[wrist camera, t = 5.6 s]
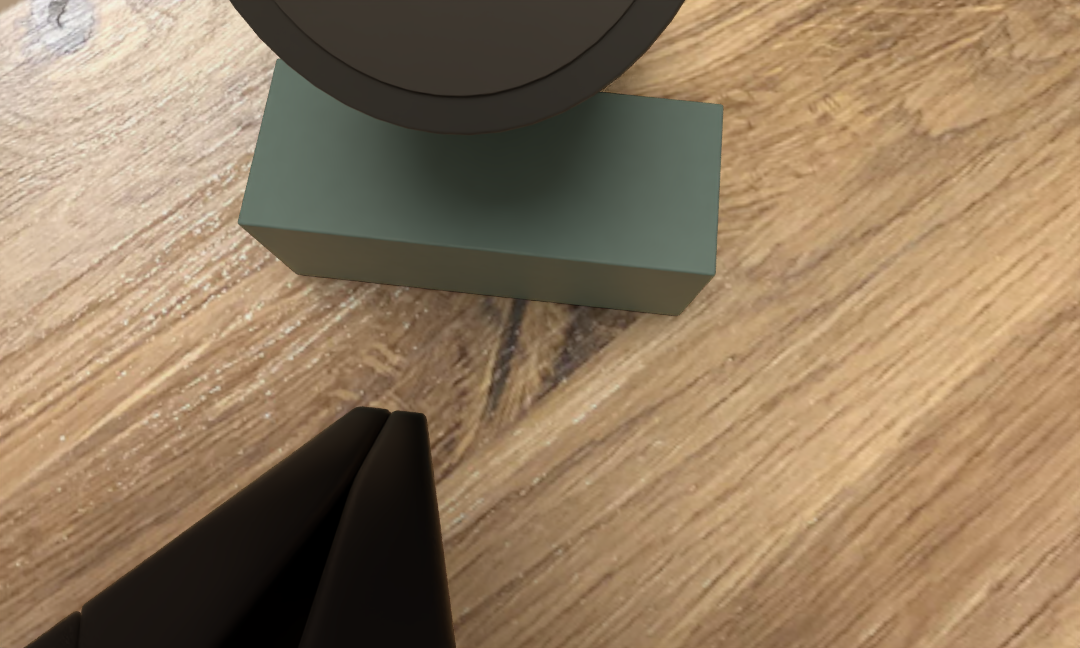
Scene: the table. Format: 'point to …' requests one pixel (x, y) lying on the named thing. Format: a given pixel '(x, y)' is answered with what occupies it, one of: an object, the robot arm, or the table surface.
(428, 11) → the bin
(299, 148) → the prop block
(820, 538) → the table surface
